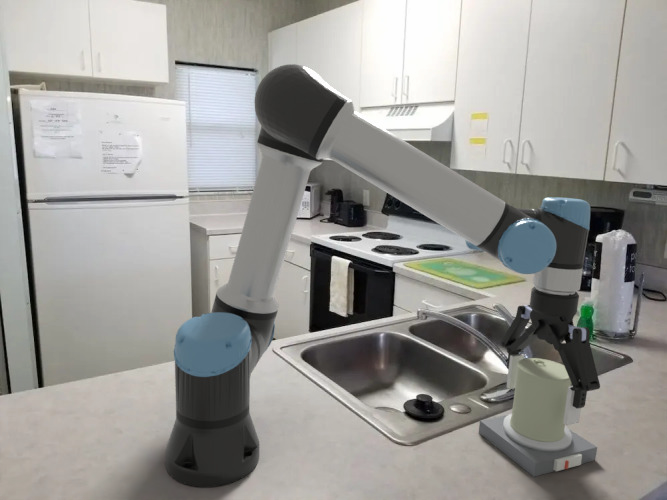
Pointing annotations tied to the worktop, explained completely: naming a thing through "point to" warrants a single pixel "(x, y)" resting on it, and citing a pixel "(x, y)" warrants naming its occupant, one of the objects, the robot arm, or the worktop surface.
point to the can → (540, 399)
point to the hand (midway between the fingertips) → (540, 404)
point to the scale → (537, 447)
